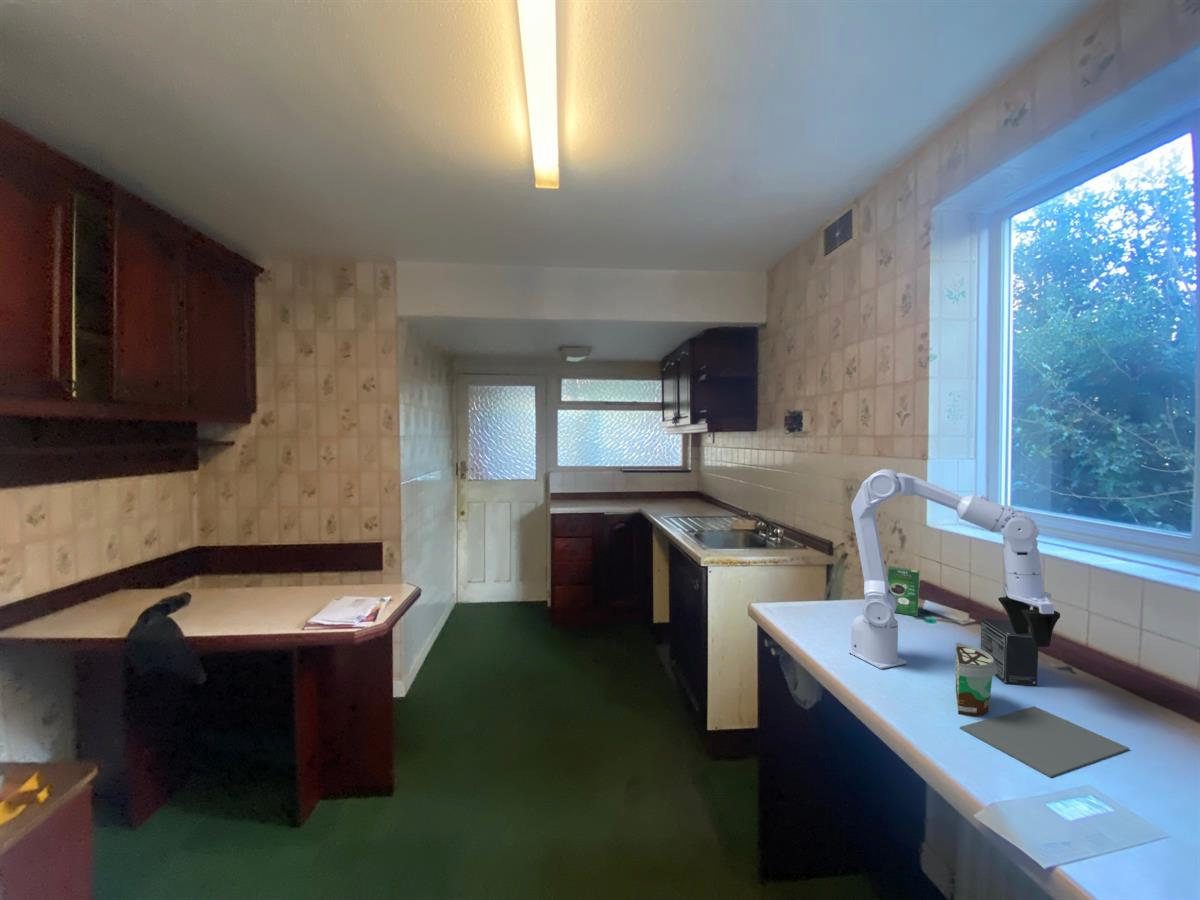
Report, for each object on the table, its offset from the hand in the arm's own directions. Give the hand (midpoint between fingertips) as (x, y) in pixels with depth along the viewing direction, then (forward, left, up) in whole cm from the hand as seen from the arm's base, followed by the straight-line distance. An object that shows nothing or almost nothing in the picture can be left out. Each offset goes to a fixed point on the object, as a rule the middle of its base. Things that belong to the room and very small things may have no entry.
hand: (1031, 639), depth 105 cm
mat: (+11, -16, -11) cm, 22 cm away
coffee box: (-43, +16, -11) cm, 47 cm away
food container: (0, -16, -11) cm, 19 cm away
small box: (-7, +4, -11) cm, 14 cm away
